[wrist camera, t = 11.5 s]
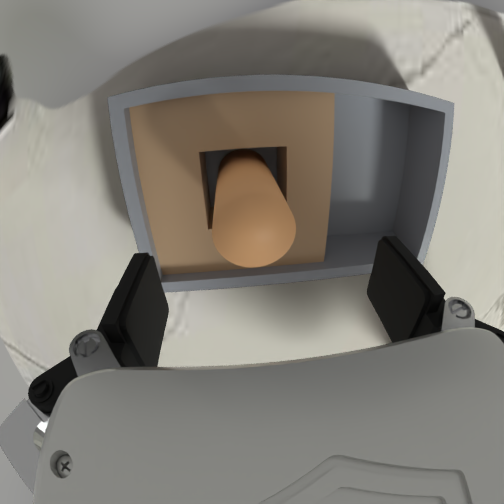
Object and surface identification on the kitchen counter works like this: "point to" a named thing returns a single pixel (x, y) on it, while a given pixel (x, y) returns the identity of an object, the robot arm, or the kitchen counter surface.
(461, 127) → the kitchen counter surface
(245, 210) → the peg
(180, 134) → the box
